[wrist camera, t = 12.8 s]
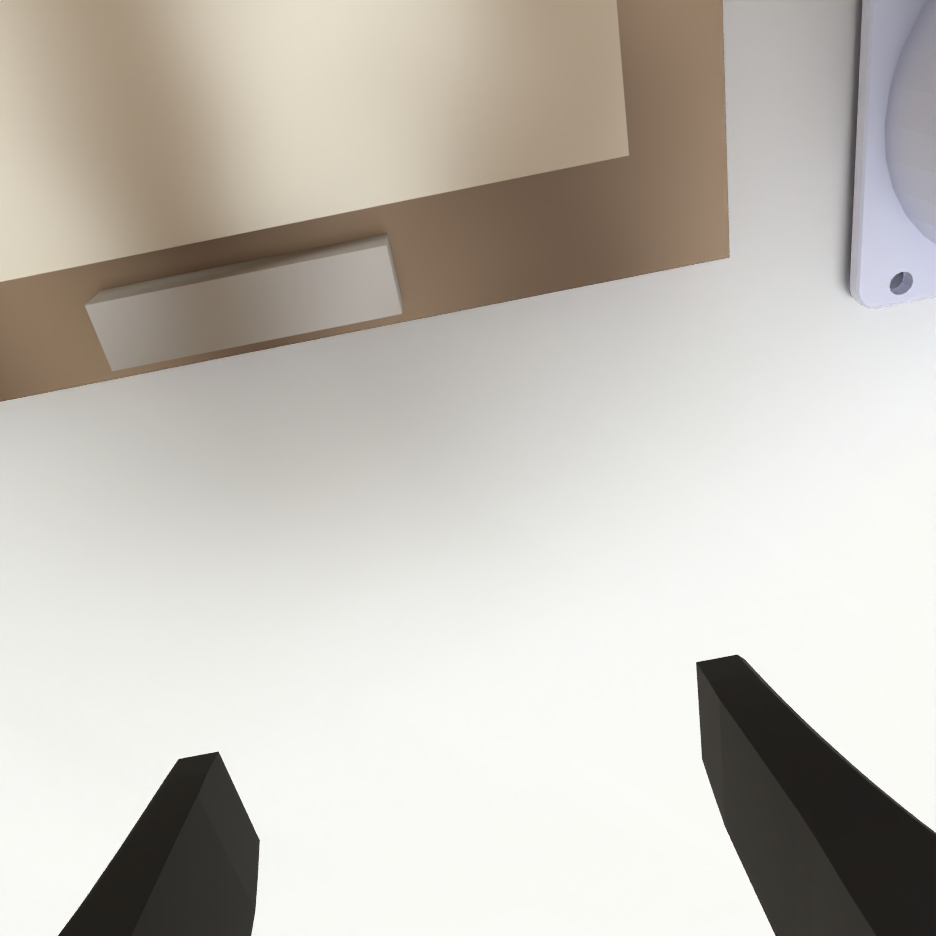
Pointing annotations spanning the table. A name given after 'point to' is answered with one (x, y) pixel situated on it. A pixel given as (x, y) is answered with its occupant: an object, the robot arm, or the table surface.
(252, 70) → the clipboard
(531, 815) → the table surface
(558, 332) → the table surface
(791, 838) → the robot arm
